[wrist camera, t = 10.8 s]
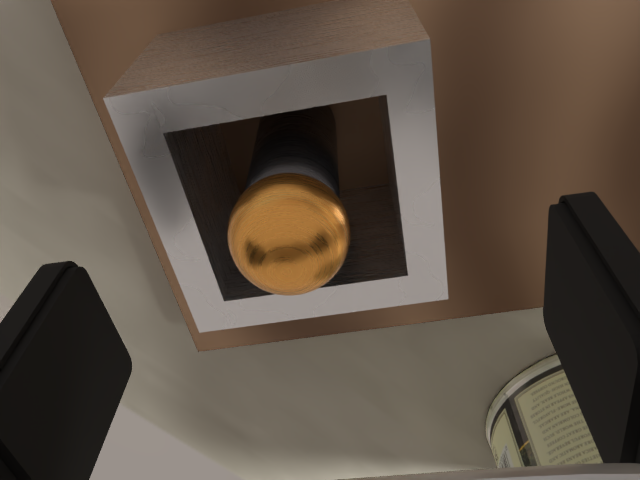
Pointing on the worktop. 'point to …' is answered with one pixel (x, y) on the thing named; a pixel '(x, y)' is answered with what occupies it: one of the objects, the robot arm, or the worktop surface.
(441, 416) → the worktop surface
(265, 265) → the post
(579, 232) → the robot arm
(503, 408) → the coffee can
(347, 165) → the board
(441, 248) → the white hollow square box
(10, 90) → the worktop surface
